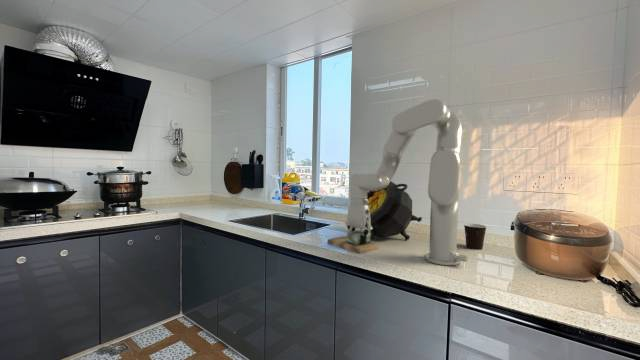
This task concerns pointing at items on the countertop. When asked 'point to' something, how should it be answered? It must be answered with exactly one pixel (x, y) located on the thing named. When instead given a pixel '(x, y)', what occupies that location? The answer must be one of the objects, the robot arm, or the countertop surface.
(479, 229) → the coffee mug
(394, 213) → the black cauldron
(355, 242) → the sanding block
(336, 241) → the oak board
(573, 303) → the countertop surface
